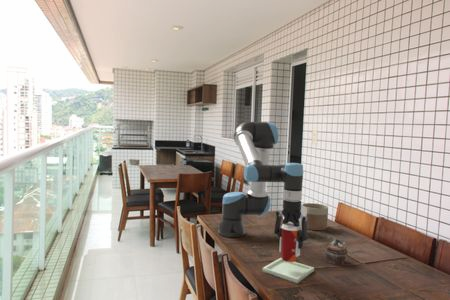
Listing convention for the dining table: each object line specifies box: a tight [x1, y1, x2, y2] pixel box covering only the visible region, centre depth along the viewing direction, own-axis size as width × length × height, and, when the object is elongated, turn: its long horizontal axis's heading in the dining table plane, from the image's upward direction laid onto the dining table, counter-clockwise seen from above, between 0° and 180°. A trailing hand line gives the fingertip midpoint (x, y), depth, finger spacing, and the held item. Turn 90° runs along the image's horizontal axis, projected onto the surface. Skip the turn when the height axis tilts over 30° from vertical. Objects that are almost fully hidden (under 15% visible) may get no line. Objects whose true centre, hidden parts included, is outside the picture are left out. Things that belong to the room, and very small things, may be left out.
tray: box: [262, 257, 315, 284], centre depth 144 cm, size 16×16×2 cm
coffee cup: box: [280, 222, 302, 262], centre depth 144 cm, size 8×8×15 cm
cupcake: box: [325, 238, 348, 266], centre depth 158 cm, size 10×10×10 cm
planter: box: [301, 202, 329, 232], centre depth 214 cm, size 16×16×14 cm
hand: (289, 253), depth 144 cm, fingers closed on coffee cup, 7 cm apart
